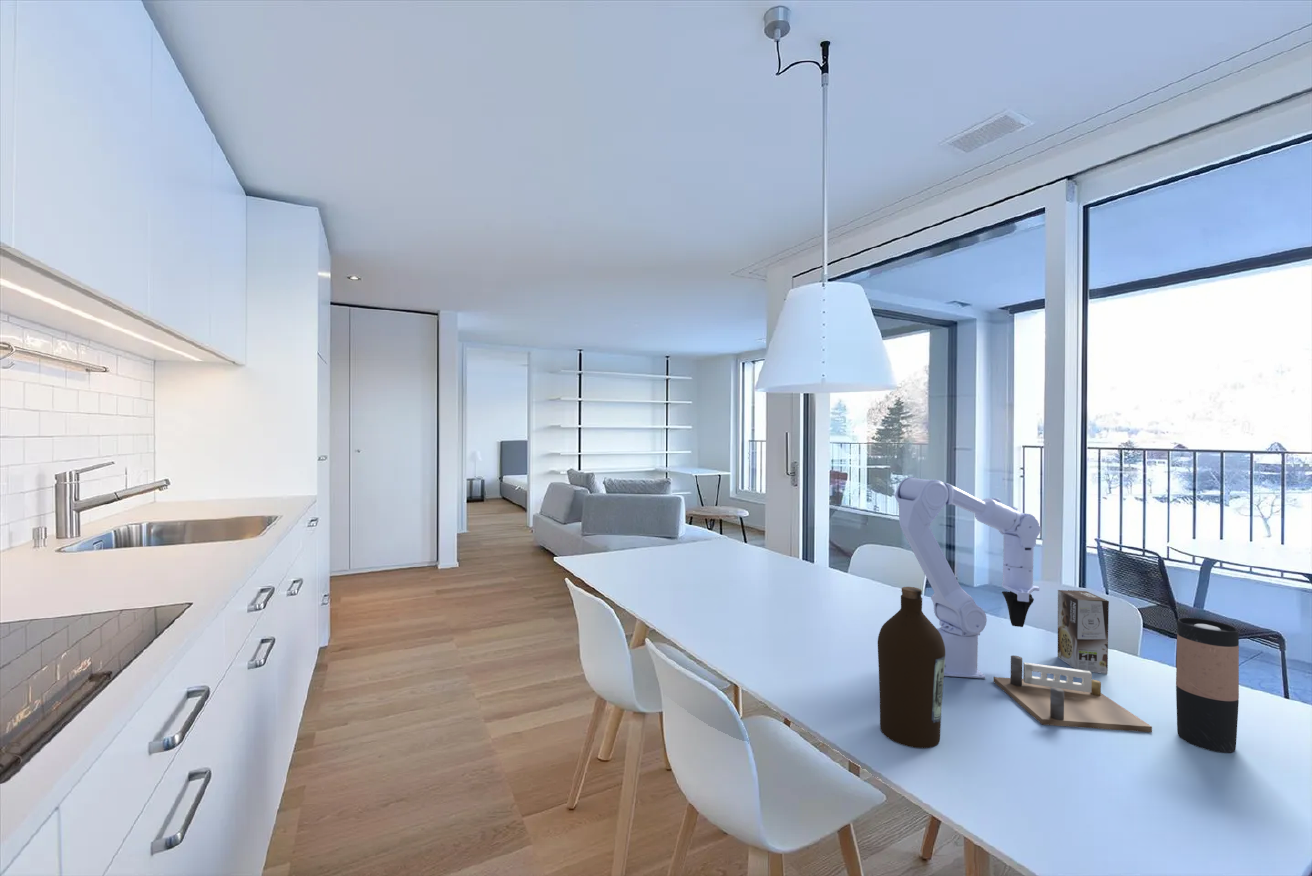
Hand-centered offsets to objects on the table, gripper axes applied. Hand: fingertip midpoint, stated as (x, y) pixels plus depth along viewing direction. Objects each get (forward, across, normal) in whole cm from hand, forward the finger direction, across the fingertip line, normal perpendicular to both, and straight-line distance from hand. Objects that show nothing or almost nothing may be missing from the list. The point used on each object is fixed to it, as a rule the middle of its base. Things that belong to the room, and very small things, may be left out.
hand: (1017, 625), depth 126 cm
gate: (+8, -13, -5) cm, 16 cm away
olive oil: (+10, -43, +22) cm, 49 cm away
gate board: (+9, -17, -6) cm, 20 cm away
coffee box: (+10, +9, -14) cm, 19 cm away
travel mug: (+10, -23, -24) cm, 34 cm away
